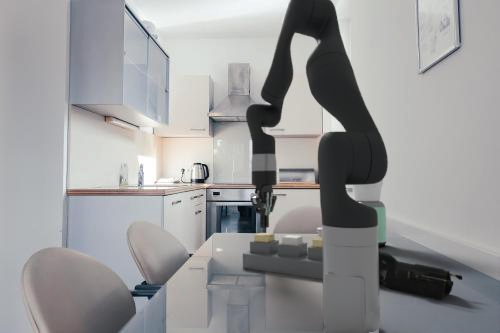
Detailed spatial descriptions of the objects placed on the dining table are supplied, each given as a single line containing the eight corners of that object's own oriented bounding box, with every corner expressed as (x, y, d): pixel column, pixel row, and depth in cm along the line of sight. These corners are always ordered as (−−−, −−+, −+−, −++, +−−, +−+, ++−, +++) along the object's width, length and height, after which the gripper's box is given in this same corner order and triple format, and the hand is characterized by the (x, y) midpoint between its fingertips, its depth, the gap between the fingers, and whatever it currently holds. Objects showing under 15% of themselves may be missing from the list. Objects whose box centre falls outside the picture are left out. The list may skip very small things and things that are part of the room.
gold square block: (267, 247, 98) (267, 235, 98) (254, 245, 100) (254, 234, 101) (274, 244, 102) (274, 233, 102) (261, 243, 104) (261, 232, 104)
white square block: (296, 249, 94) (296, 238, 94) (282, 248, 96) (282, 237, 96) (302, 247, 98) (302, 236, 98) (288, 245, 100) (288, 234, 100)
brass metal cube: (328, 253, 89) (328, 240, 89) (312, 251, 91) (312, 239, 92) (333, 250, 93) (333, 238, 93) (318, 248, 95) (317, 237, 95)
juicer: (374, 251, 119) (371, 151, 121) (340, 246, 129) (339, 154, 130) (398, 244, 132) (395, 154, 133) (365, 239, 142) (363, 156, 143)
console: (331, 280, 85) (331, 251, 85) (242, 267, 98) (242, 243, 98) (344, 269, 95) (343, 244, 95) (262, 259, 108) (262, 237, 109)
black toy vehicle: (452, 308, 68) (452, 267, 68) (341, 279, 86) (341, 246, 86) (462, 300, 72) (462, 261, 73) (355, 274, 91) (355, 243, 91)
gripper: (264, 169, 95) (265, 231, 94) (284, 169, 106) (285, 225, 105) (241, 169, 98) (242, 229, 98) (263, 170, 110) (263, 224, 109)
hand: (264, 227), depth 102 cm, fingers closed
